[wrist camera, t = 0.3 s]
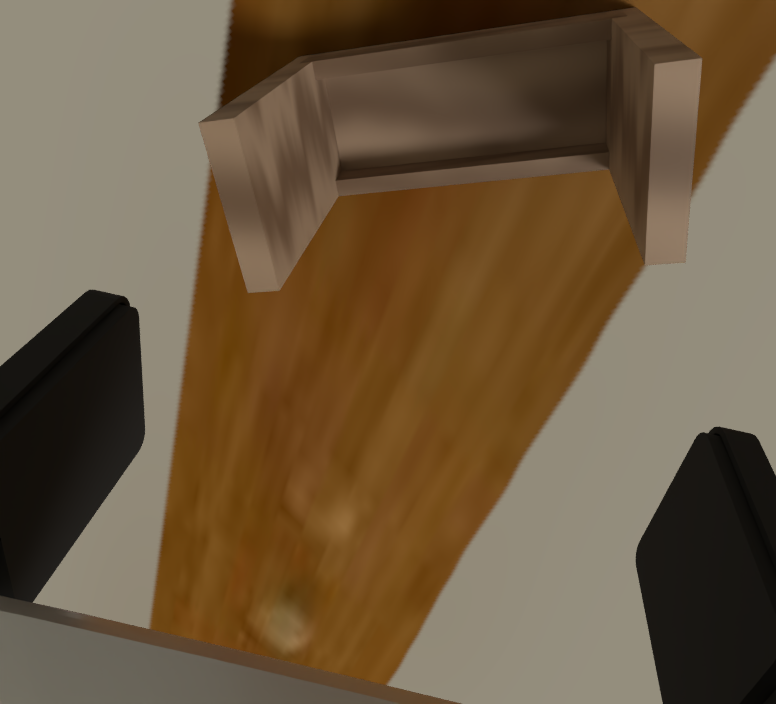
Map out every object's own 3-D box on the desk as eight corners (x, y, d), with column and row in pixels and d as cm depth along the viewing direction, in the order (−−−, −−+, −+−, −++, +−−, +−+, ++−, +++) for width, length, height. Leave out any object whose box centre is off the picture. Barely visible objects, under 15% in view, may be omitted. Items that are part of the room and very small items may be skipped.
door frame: (299, 56, 42) (198, 122, 28) (635, 7, 37) (702, 58, 24) (325, 183, 46) (247, 292, 32) (630, 151, 42) (685, 262, 28)
